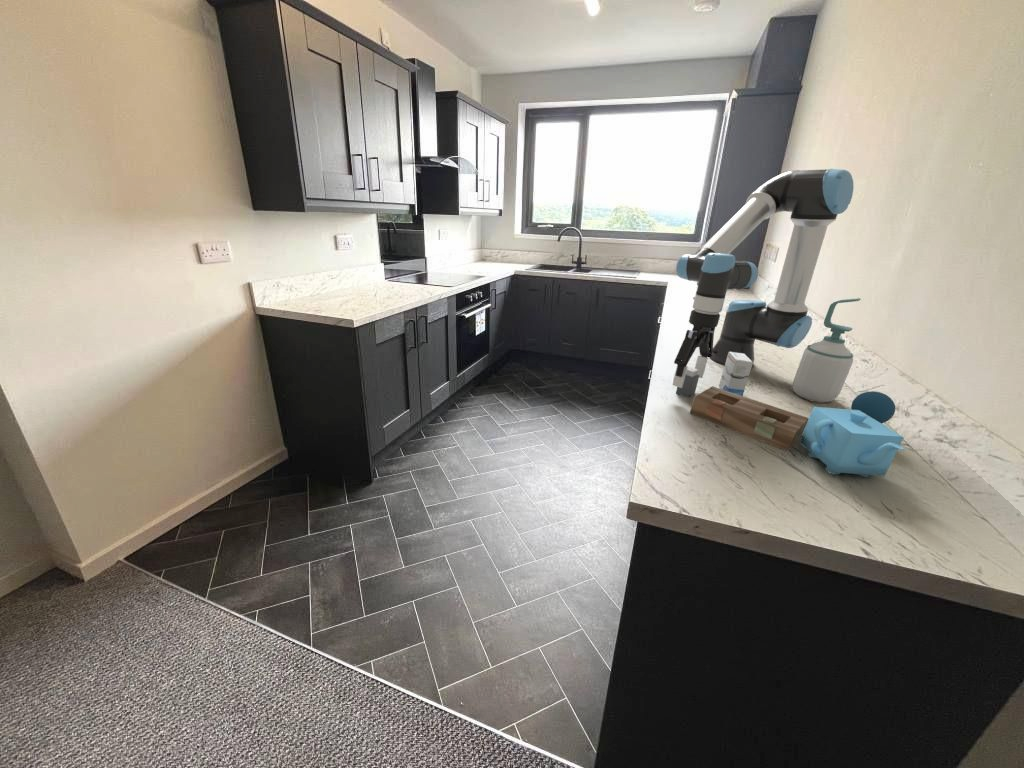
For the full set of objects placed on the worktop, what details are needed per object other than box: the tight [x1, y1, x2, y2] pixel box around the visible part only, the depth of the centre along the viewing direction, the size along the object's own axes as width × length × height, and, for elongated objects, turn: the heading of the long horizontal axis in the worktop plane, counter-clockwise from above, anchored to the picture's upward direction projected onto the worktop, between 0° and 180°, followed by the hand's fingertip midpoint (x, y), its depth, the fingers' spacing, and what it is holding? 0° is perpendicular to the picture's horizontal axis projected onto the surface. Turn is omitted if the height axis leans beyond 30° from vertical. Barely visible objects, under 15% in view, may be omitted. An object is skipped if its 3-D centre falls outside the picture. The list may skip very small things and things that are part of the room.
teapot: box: [799, 406, 905, 478], centre depth 88 cm, size 18×16×13 cm
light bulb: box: [850, 390, 896, 424], centre depth 105 cm, size 8×8×12 cm
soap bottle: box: [792, 297, 861, 403], centre depth 123 cm, size 12×12×31 cm
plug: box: [675, 366, 700, 398], centre depth 123 cm, size 4×4×8 cm
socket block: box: [689, 386, 809, 452], centre depth 107 cm, size 12×24×5 cm, turn 43°
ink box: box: [718, 352, 754, 396], centre depth 126 cm, size 8×5×12 cm, turn 168°
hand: (687, 381), depth 123 cm, fingers open, 13 cm apart
